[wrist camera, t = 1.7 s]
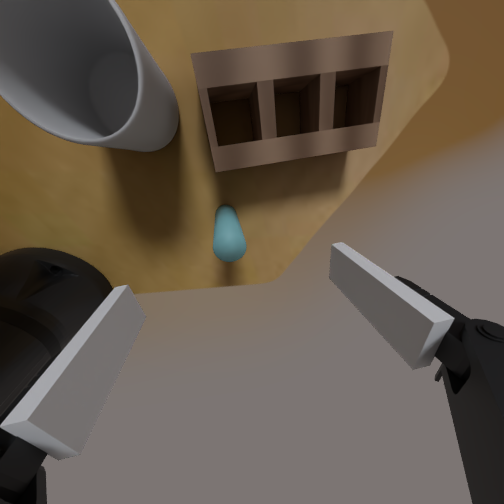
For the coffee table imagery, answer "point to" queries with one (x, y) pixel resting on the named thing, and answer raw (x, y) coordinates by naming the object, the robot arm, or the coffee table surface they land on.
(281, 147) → the hole block
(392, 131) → the coffee table surface
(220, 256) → the peg
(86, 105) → the mug
